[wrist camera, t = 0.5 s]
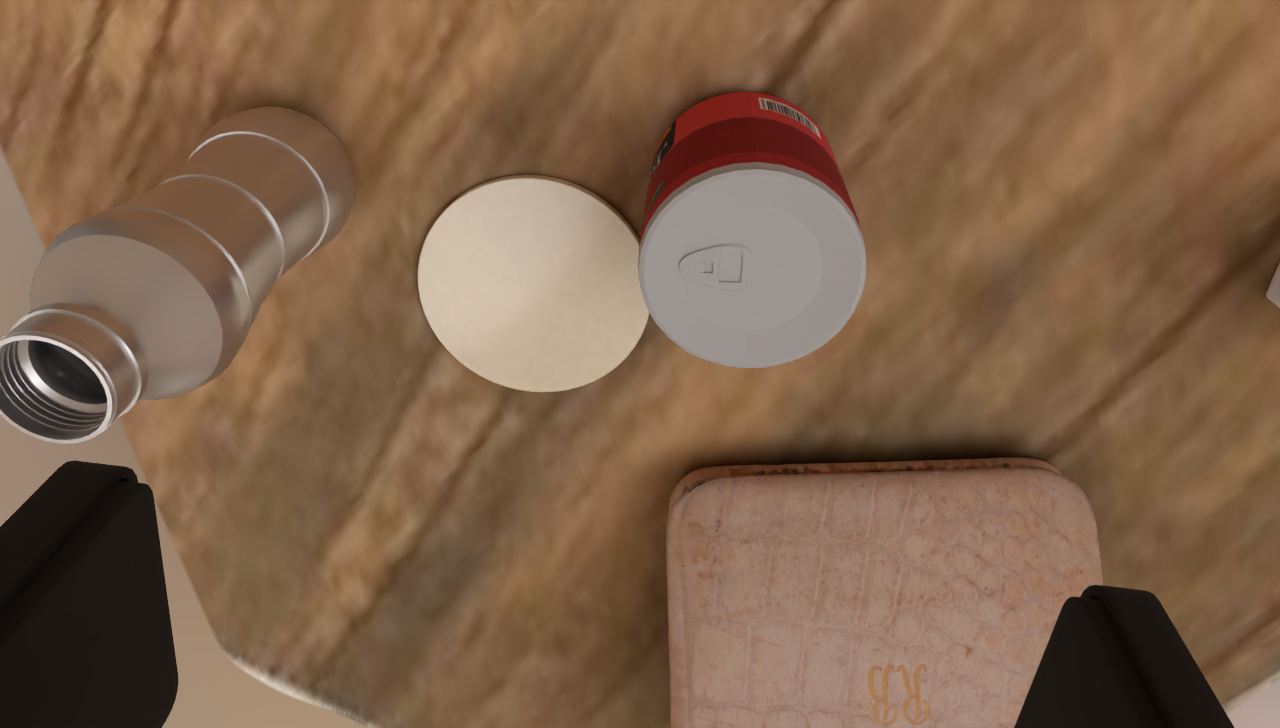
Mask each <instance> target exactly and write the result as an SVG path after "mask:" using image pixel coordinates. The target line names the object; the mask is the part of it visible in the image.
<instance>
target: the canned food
mask: <svg viewBox="0 0 1280 728" xmlns="http://www.w3.org/2000/svg"><path fill="white" fill-rule="evenodd" d="M638 272H639V283H640V289H641V292H642V295H643V298H644V301H645V304H646V307H647V309H648V311H649V312H650V314H651V316H652V318H653V319H654V321H655V323H656V324H657V325H658V326H659V327H660V329H661V330H662V331H663V332H664V333H665V334H666V335H667V336H668V337H669V338H670V339H671V340H672V341H673V342H675V343H676V344H677V345H679V346H680V347H681V348H683V349H684V350H685V351H687V352H689V353H691V354H693V355H695V356H697V357H699V358H701V359H703V360H707V361H710V362H713V363H717V364H720V365H723V366H731V367H739V368H761V367H770V366H774V365H779V364H784V363H788V362H791V361H793V360H796V359H798V358H801V357H803V356H806V355H808V354H809V353H811V352H813V351H815V350H816V349H818V348H820V347H821V346H823V345H824V344H826V343H827V342H828V341H829V340H830V339H831V338H832V337H834V336H835V335H836V334H837V333H838V332H839V331H840V330H841V329H842V328H843V326H844V325H845V324H846V322H847V321H848V320H849V319H850V317H851V316H852V315H853V313H854V311H855V309H856V306H857V304H858V302H859V300H860V298H861V296H862V292H863V288H864V284H865V280H866V250H865V245H864V240H863V235H862V231H861V228H860V226H859V221H858V218H857V216H856V213H855V210H854V208H853V205H852V203H851V200H850V197H849V195H848V192H847V189H846V187H845V184H844V182H843V179H842V176H841V174H840V171H839V168H838V166H837V163H836V160H835V158H834V155H833V153H832V150H831V148H830V146H829V143H828V141H827V139H826V137H825V135H824V133H823V132H822V131H821V129H820V128H819V127H818V125H817V124H816V123H815V121H814V120H813V119H812V118H810V117H809V116H808V115H807V114H806V113H805V112H804V111H802V110H801V109H800V108H798V107H796V106H795V105H793V104H791V103H789V102H788V101H786V100H783V99H780V98H777V97H774V96H771V95H768V94H762V93H754V92H736V93H727V94H723V95H719V96H715V97H711V98H709V99H707V100H705V101H703V102H701V103H698V104H696V105H694V106H693V107H691V108H690V109H689V110H687V111H686V112H685V113H683V114H682V115H680V116H679V117H678V118H677V119H676V120H675V122H674V123H673V124H672V125H671V126H670V127H669V128H668V129H667V131H666V132H665V134H664V136H663V137H662V139H661V140H660V142H659V144H658V146H657V149H656V152H655V155H654V157H653V160H652V167H651V173H650V179H649V186H648V192H647V198H646V205H645V211H644V217H643V224H642V230H641V237H640V245H639V256H638Z"/></svg>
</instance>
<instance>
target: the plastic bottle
mask: <svg viewBox="0 0 1280 728" xmlns="http://www.w3.org/2000/svg"><path fill="white" fill-rule="evenodd" d="M355 185H356V182H355V175H354V169H353V166H352V163H351V161H350V158H349V156H348V154H347V152H346V150H345V149H344V147H343V145H342V144H341V143H340V141H339V140H338V139H337V138H336V137H335V135H334V134H333V133H332V132H331V131H330V130H328V129H327V128H326V127H325V126H324V125H323V124H321V123H320V122H318V121H317V120H315V119H313V118H312V117H310V116H308V115H306V114H304V113H301V112H299V111H296V110H293V109H288V108H283V107H271V106H265V107H259V108H253V109H249V110H245V111H241V112H237V113H235V114H232V115H230V116H228V117H225V118H223V119H222V120H221V121H219V122H218V123H216V124H215V125H214V126H212V128H211V129H210V130H209V131H208V132H207V133H206V135H205V136H204V137H203V138H202V139H201V141H200V142H199V143H198V144H197V146H196V147H195V148H194V150H193V152H192V153H191V155H190V157H189V159H188V160H187V161H186V162H185V163H184V164H183V165H182V166H181V167H180V168H179V169H178V170H177V171H176V172H175V173H174V174H173V175H172V176H171V177H170V178H169V179H167V180H166V181H164V182H163V183H161V184H160V185H158V186H156V187H154V188H152V189H151V190H149V191H147V192H146V193H144V194H142V195H141V196H139V197H137V198H135V199H133V200H130V201H128V202H125V203H123V204H120V205H118V206H115V207H113V208H110V209H108V210H106V211H103V212H100V213H97V214H95V215H92V216H90V217H87V218H85V219H84V220H82V221H80V222H78V223H76V224H74V225H73V226H71V227H69V228H68V229H66V230H65V231H64V232H62V233H61V234H59V235H58V236H57V237H56V238H55V239H54V240H53V242H52V243H51V244H50V245H49V247H48V248H47V249H46V251H45V253H44V255H43V257H42V259H41V261H40V263H39V265H38V267H37V269H36V271H35V274H34V276H33V278H32V285H31V291H30V310H31V312H30V313H28V314H27V315H25V316H24V317H22V318H21V319H20V320H18V321H17V322H16V323H15V325H14V326H13V327H12V328H11V330H10V332H9V333H7V334H6V335H5V336H3V337H2V338H1V339H0V415H1V416H2V417H3V418H4V419H5V420H7V421H8V422H9V423H10V424H12V425H13V426H14V427H16V428H18V429H19V430H20V431H22V432H24V433H26V434H29V435H31V436H33V437H36V438H38V439H41V440H44V441H48V442H54V443H64V444H71V443H78V442H83V441H86V440H89V439H91V438H93V437H95V436H96V435H98V434H100V433H101V432H103V431H105V429H106V428H107V427H108V426H109V425H110V424H111V423H112V422H113V421H114V420H115V419H116V418H118V417H120V416H122V415H123V414H125V413H127V412H128V411H129V410H130V409H131V408H132V407H133V406H134V405H135V404H136V403H137V402H138V401H139V400H160V399H167V398H174V397H177V396H180V395H183V394H186V393H188V392H191V391H193V390H195V389H197V388H199V387H201V386H203V385H205V384H207V383H208V382H210V381H212V380H213V379H215V378H217V377H218V376H219V375H220V374H221V373H222V372H223V371H224V370H225V369H226V368H227V367H228V366H229V365H230V363H231V362H232V360H233V358H234V357H235V356H236V354H237V353H238V351H239V349H240V347H241V346H242V344H243V342H244V340H245V338H246V336H247V334H248V332H249V330H250V327H251V325H252V323H253V321H254V319H255V317H256V315H257V313H258V311H259V308H260V306H261V304H262V303H263V301H264V300H265V299H266V297H267V296H268V294H269V293H270V291H271V290H272V288H273V286H274V285H275V284H276V283H277V281H278V280H279V279H280V277H281V276H282V275H284V274H285V273H286V272H287V271H288V270H289V269H291V268H292V267H293V266H294V265H295V264H296V263H298V262H299V261H300V260H302V259H304V258H306V257H308V256H310V255H311V254H313V253H314V252H316V251H317V250H319V249H320V248H322V247H323V246H325V245H326V244H327V243H329V242H330V241H331V240H332V239H333V238H334V237H335V236H336V235H337V234H338V233H339V232H340V231H341V229H342V228H343V226H344V224H345V223H346V221H347V219H348V215H349V212H350V209H351V206H352V203H353V199H354V196H355Z"/></svg>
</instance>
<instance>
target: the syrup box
mask: <svg viewBox="0 0 1280 728" xmlns="http://www.w3.org/2000/svg"><path fill="white" fill-rule="evenodd" d="M1266 296H1267V298H1268V299H1269V300H1271V301H1272V302H1273V303H1274V304H1275V305H1277V306H1278V307H1279V308H1280V263H1279V265H1278V267H1277V270H1276V272H1275V274H1274V276H1273V278H1272V281H1271V283H1270V285H1269V288H1268V290H1267V292H1266Z"/></svg>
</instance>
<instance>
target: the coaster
mask: <svg viewBox="0 0 1280 728" xmlns="http://www.w3.org/2000/svg"><path fill="white" fill-rule="evenodd" d="M639 245H640V241H639V239H638V237H637V235H636V234H635V232H634V231H633V229H632V228H631V226H630V225H629V224H628V222H627V221H626V220H625V219H624V218H623V217H622V216H621V215H620V213H619V212H618V211H617V210H615V209H614V208H613V207H612V206H611V205H610V204H608V203H607V202H606V201H605V200H603V199H602V198H600V197H599V196H597V195H596V194H594V193H593V192H591V191H589V190H587V189H585V188H583V187H581V186H579V185H576V184H573V183H571V182H568V181H565V180H562V179H557V178H553V177H548V176H539V175H513V176H507V177H501V178H497V179H494V180H491V181H487V182H484V183H482V184H480V185H478V186H475V187H473V188H471V189H469V190H468V191H466V192H465V193H463V194H462V195H460V196H459V197H457V198H456V199H455V200H454V201H453V202H452V203H450V204H449V205H448V206H447V207H446V208H445V209H444V211H443V212H442V213H441V214H440V215H439V216H438V218H437V219H436V221H435V223H434V224H433V226H432V227H431V229H430V231H429V232H428V234H427V237H426V239H425V241H424V244H423V246H422V250H421V254H420V257H419V264H418V290H419V295H420V301H421V304H422V307H423V310H424V313H425V316H426V318H427V320H428V322H429V324H430V327H431V328H432V330H433V331H434V333H435V335H436V336H437V338H438V339H439V341H440V342H441V343H442V344H443V345H444V347H445V348H446V349H447V350H448V351H449V352H450V353H451V354H452V355H453V356H454V357H455V358H456V359H457V360H458V361H459V362H461V363H462V364H463V365H464V366H466V367H467V368H468V369H470V370H471V371H473V372H475V373H476V374H478V375H480V376H481V377H483V378H485V379H488V380H490V381H492V382H494V383H497V384H500V385H503V386H506V387H509V388H513V389H518V390H523V391H532V392H555V391H563V390H569V389H573V388H576V387H580V386H583V385H586V384H588V383H591V382H593V381H595V380H597V379H599V378H601V377H602V376H604V375H606V374H607V373H609V372H610V371H612V370H613V369H614V368H616V367H617V366H618V365H619V364H620V363H621V362H622V361H623V360H624V359H625V358H626V357H627V356H628V355H629V354H630V353H631V351H632V350H633V349H634V347H635V346H636V344H637V343H638V341H639V339H640V338H641V336H642V334H643V331H644V329H645V326H646V324H647V321H648V317H649V313H650V312H649V311H648V309H647V307H646V304H645V301H644V298H643V295H642V292H641V289H640V283H639V272H638V256H639Z"/></svg>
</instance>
